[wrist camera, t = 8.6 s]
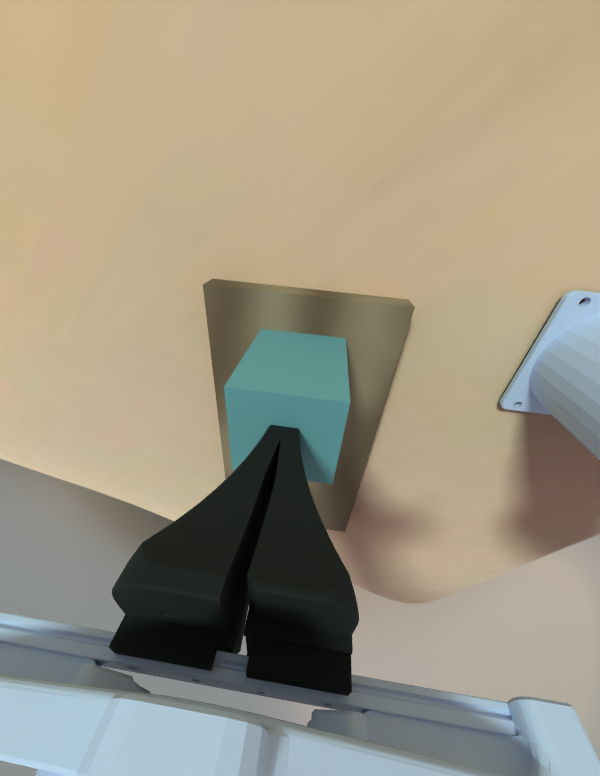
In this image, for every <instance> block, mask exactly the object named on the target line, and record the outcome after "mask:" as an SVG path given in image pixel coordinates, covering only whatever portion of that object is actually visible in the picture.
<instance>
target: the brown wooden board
mask: <svg viewBox="0 0 600 776" xmlns="http://www.w3.org/2000/svg"><path fill="white" fill-rule="evenodd" d="M203 289H204V298H205V306H206V315H207V324H208V332H209V341H210V349H211V358H212V366H213V375H214V383H215V392H216V400H217V409H218V417H219V426H220V435H221V443H222V452H223V460H224V469H225V477H226V479H227V478H228V477H229V476H230V475H231V474H232V473H233V472H234V471H233V470H232V462H231V452H230V442H229V432H228V422H227V412H226V402H225V392H224V386H225V384H226V383H227V381H228V380H229V378H230V377H231V375H232V373H233V372H234V370H235V369H236V367H237V366H238V364H239V362H240V361H241V359H242V358H243V356H244V355H245V353H246V351H247V350H248V348H249V347H250V345H251V344H252V342H253V341H254V339H255V337H256V336H257V334H258V333H259V331H260V330H261V329H268V330H277V331H286V332H295V333H304V334H313V335H322V336H331V337H340V338H346V348H347V362H348V376H349V391H350V406H349V411H348V416H347V420H346V425H345V429H344V434H343V439H342V443H341V448H340V452H339V457H338V462H337V466H336V471H335V475H334V480H333V485H332V484H325V483H318V482H311V481H307V482H308V485H309V488H310V492H311V495H312V497H313V500H314V503H315V506H316V508H317V511H318V513H319V516H320V518H321V520H322V522H323V525H324V527H325V529H331V530H337V531H344V532H345V530H346V527H347V523H348V520H349V517H350V514H351V511H352V507H353V504H354V501H355V498H356V494H357V491H358V488H359V485H360V482H361V478H362V475H363V472H364V469H365V465H366V462H367V459H368V456H369V453H370V449H371V446H372V443H373V440H374V436H375V433H376V430H377V427H378V424H379V420H380V417H381V414H382V411H383V407H384V404H385V401H386V398H387V395H388V391H389V388H390V385H391V382H392V378H393V375H394V372H395V369H396V366H397V362H398V359H399V356H400V353H401V349H402V346H403V343H404V340H405V337H406V333H407V330H408V327H409V324H410V320H411V317H412V314H413V311H414V308H415V307H414V306H413V305H412V303H411V302H410V301H409V300H405V299H396V298H387V297H377V296H368V295H359V294H349V293H340V292H330V291H321V290H312V289H302V288H293V287H284V286H274V285H265V284H256V283H246V282H237V281H227V280H218V279H212V280H210V281H208V282H206V283H205V284H203Z"/></svg>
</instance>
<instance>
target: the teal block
mask: <svg viewBox="0 0 600 776" xmlns="http://www.w3.org/2000/svg"><path fill="white" fill-rule="evenodd" d="M224 392H225V402H226V412H227V422H228V432H229V442H230V452H231V462H232V470H233V471H235V470H236V468H237V467H238V466H239V465H240V464H241V463H242V462H243V461H244V460H245V458H246V457H247V456H248V455H249V454H250V452H251V451H252V450H253V449H254V447H255V446H256V445H257V443H258V442H259V441H260V439H261V438H262V436H263V435H264V433H265V432H266V430H267V429H268V427H269V426H270V425H277V426H285V427H292V428H298V429H299V430H300V437H299V438H300V450H301V456H302V461H303V466H304V470H305V475H306V478H307V481H311V482H318V483H325V484H332V485H333V480H334V475H335V471H336V466H337V462H338V457H339V452H340V448H341V443H342V439H343V434H344V429H345V425H346V420H347V416H348V411H349V406H350V391H349V376H348V362H347V348H346V338H340V337H331V336H322V335H313V334H304V333H295V332H286V331H277V330H268V329H261V330H260V331H259V333H258V334H257V336H256V337H255V339H254V341H253V342H252V344H251V345H250V347H249V348H248V350H247V351H246V353H245V355H244V356H243V358H242V359H241V361H240V362H239V364H238V366H237V367H236V369H235V370H234V372H233V373H232V375H231V377H230V378H229V380H228V381H227V383H226V384H225V386H224Z"/></svg>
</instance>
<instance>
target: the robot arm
mask: <svg viewBox="0 0 600 776" xmlns="http://www.w3.org/2000/svg"><path fill="white" fill-rule="evenodd" d="M583 298H585V301H584V302H583V303H581V304H579V302H580V301H581V300H582V299H583ZM517 402H518V403H517ZM499 403H500V405H501V407H502V408H503V409H507V410H515V411H523V412H531V413H539V414H547V415H552V416H553V417H554V418H555V419H557V420H558V421H559V422H560V423H561V424H562V425H563V426H564V427H565V428H566V429H567V430H568V431H569V432H570V433H571V434H572V435H573V436H574V437H575V438H576V439H578V440H579V441H580V442H581V443H582V444H583V445H584V446H585V447H586V448H587V449H588V450H589V451H590V452H591V453H592V454H593V455H594V456H595V457H596V458H597V459H598V460H600V292H590V291H580V290H572V291H570V292H567V293H566V294H565V295H564V296H563V297H562V298H561V300H560V301H559V303H558V305H557V306H556V308H555V310H554V311H553V313H552V315H551V316H550V318H549V320H548V321H547V323H546V325H545V326H544V328H543V330H542V331H541V333H540V335H539V336H538V338H537V340H536V341H535V343H534V345H533V346H532V348H531V350H530V351H529V353H528V355H527V356H526V358H525V360H524V361H523V363H522V365H521V366H520V368H519V370H518V371H517V373H516V375H515V376H514V378H513V380H512V381H511V383H510V385H509V386H508V388H507V390H506V391H505V393H504V395H503V396H502V398H501V400H500V402H499ZM515 403H517V404H515ZM514 404H515V405H514ZM299 437H300V430H299V429H298V428H292V427H285V426H277V425H270V426H269V427H268V429H267V430H266V432H265V433H264V435H263V436H262V438H261V439H260V441H259V442H258V443H257V445H256V446H255V447H254V449H253V450H252V451H251V452H250V454H249V455H248V456H247V457H246V458H245V460H244V461H243V462H242V463H241V464H240V465H239V466H238V467H237V468H236V470H235V471H234V472H233V473H232V474H231V475H230V476H229V477H228V478H227V479H226V480H225V481H224V482H223V483H222V484H221V485H220V486H218V487H217V488H216V489H215V490H214V491H213V492H212V493H211V494H209V495H208V496H207V497H206V498H205V499H204V500H202V501H201V502H200V503H199V504H197V505H196V506H195V507H193V508H192V509H191V510H189V511H188V512H187V513H185V514H184V515H183V516H181V517H180V518H179V519H177V520H176V521H175V522H173V523H172V524H170V525H169V526H167V527H166V528H164V529H163V530H161V531H159V532H158V533H156V534H155V535H153V536H152V537H150V538H149V539H147V540H146V541H144V542H143V543H142V544H141V545H140V547H139V548H138V549H137V551H136V552H135V553H134V555H133V556H132V557H131V559H130V560H129V562H128V563H127V565H126V567H125V568H124V570H123V572H122V573H121V575H120V577H119V578H118V580H117V582H116V584H115V585H114V587H113V589H112V595H113V598H114V600H115V601H116V603H117V604H118V605H119V607H120V608H121V609H122V610H123V612H124V613H125V616H124V618H123V620H122V622H121V624H120V626H119V628H118V630H117V632H111V631H105V630H99V629H94V628H88V627H83V626H77V625H71V624H66V623H60V622H55V621H49V620H43V619H38V618H32V617H26V616H21V615H16V614H10V613H4V612H0V760H1V761H6V762H11V763H15V764H19V765H23V766H28V767H33V768H37V769H38V771H37V773H36V775H35V776H600V761H599V759H598V757H597V755H596V753H595V751H594V749H593V747H592V745H591V743H590V741H589V738H588V737H587V734H586V732H585V730H584V728H583V726H582V724H581V722H580V720H579V717H578V715H577V713H576V711H575V709H574V708H573V707H572V706H571V705H570V704H568V703H562V702H556V701H550V700H545V699H539V698H533V697H516V698H513V699H511V700H509V701H508V702H502V701H496V700H491V699H485V698H480V697H474V696H469V695H463V694H457V693H452V692H446V691H441V690H435V689H430V688H424V687H418V686H413V685H407V684H401V683H396V682H390V681H385V680H379V679H374V678H368V677H362V676H357V675H351V654H352V634H353V632H354V630H355V628H356V626H357V625H358V621H359V614H358V607H357V602H356V597H355V593H354V589H353V586H352V582H351V579H350V576H349V573H348V571H347V569H346V568H345V566H344V564H343V563H342V561H341V559H340V557H339V555H338V553H337V552H336V550H335V548H334V546H333V544H332V542H331V540H330V538H329V536H328V533H327V531H326V529H325V527H324V525H323V522H322V520H321V518H320V516H319V513H318V511H317V508H316V506H315V503H314V500H313V497H312V495H311V492H310V488H309V485H308V482H307V478H306V475H305V470H304V466H303V461H302V456H301V450H300V438H299ZM248 606H249V611H248ZM247 611H248V615H247ZM246 617H247V620H246ZM245 622H246V624H245ZM244 628H245V629H244ZM243 633H244V636H246V644H247V656H244V655H239V654H238V653H239V652H240V650H241V644H242V639H243ZM102 666H104V667H110V668H115V669H120V670H126V671H132V672H137V673H142V674H148V675H153V676H158V677H163V678H169V679H175V680H180V681H185V682H190V683H196V684H202V685H206V686H212V687H217V688H223V689H229V690H234V691H240V692H244V693H249V694H255V695H260V696H266V697H272V698H276V699H282V700H287V701H293V702H298V703H303V704H309V705H314V706H320V707H325V708H330V709H336V710H319V709H318V710H317V709H315V710H314V711H313V712H312V719H311V721H309V723H308V724H307V726H303V725H299V724H295V723H291V722H287V721H283V720H279V719H275V718H271V717H267V716H263V715H259V714H255V713H250V712H246V711H242V710H237V709H233V708H228V707H224V706H219V705H214V704H209V703H203V702H198V701H193V700H187V699H181V698H175V697H170V696H164V695H157V694H150V692H149V691H148V690H146V689H144V688H142V687H140V686H139V685H138V684H137V683H135V682H134V681H133V677H132V676H129V675H126V674H123V673H119V672H116V671H113V670H110V669H107V668H103V667H102Z"/></svg>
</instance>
